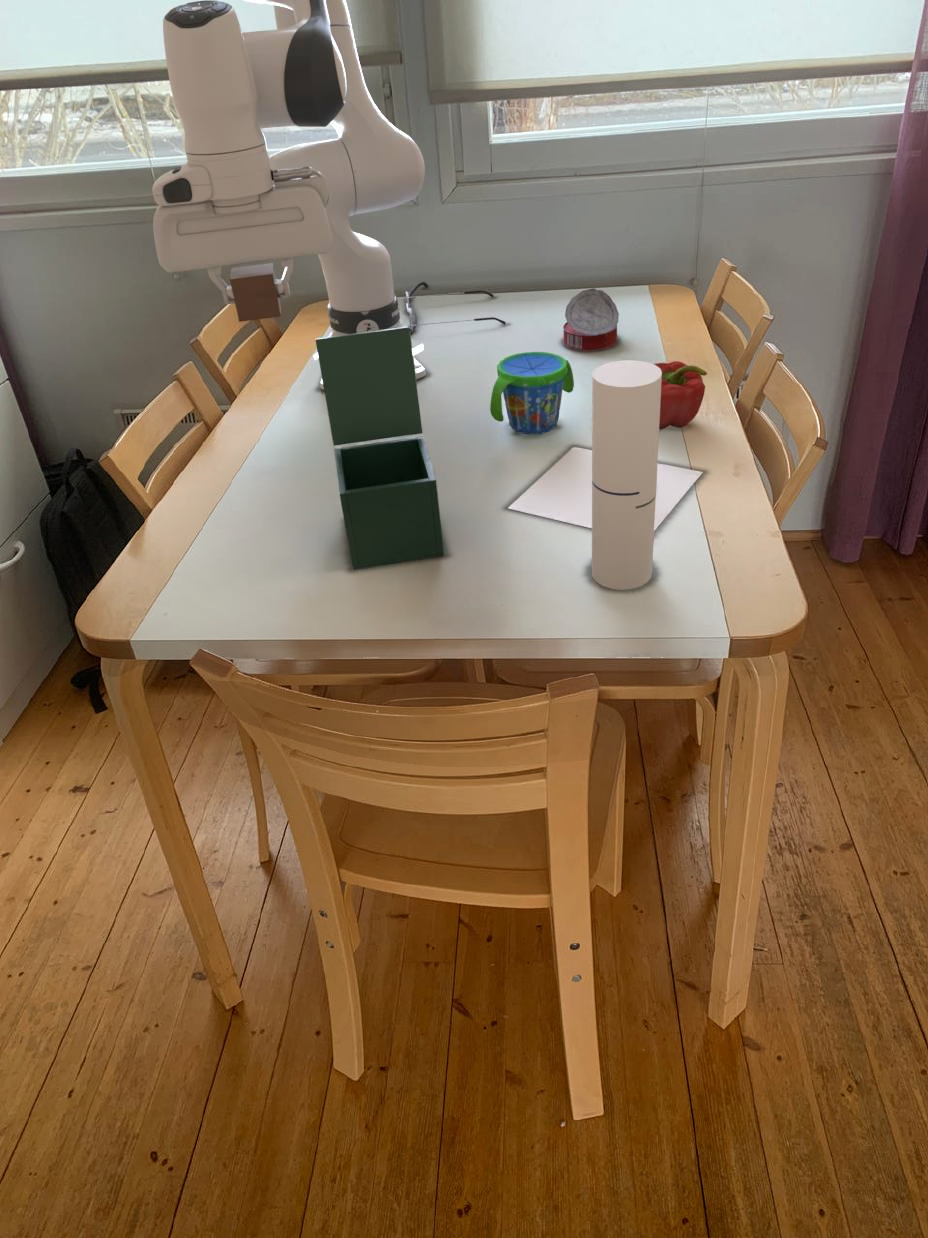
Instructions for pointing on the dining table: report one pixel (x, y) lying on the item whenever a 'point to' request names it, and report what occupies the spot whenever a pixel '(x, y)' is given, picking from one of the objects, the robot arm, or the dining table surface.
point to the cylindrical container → (624, 471)
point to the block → (255, 292)
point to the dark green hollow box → (389, 502)
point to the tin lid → (370, 385)
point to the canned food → (591, 321)
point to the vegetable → (680, 393)
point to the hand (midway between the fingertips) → (257, 299)
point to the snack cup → (531, 390)
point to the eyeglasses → (452, 321)
